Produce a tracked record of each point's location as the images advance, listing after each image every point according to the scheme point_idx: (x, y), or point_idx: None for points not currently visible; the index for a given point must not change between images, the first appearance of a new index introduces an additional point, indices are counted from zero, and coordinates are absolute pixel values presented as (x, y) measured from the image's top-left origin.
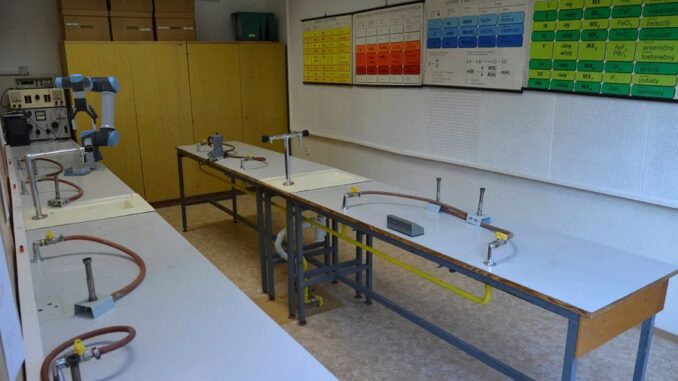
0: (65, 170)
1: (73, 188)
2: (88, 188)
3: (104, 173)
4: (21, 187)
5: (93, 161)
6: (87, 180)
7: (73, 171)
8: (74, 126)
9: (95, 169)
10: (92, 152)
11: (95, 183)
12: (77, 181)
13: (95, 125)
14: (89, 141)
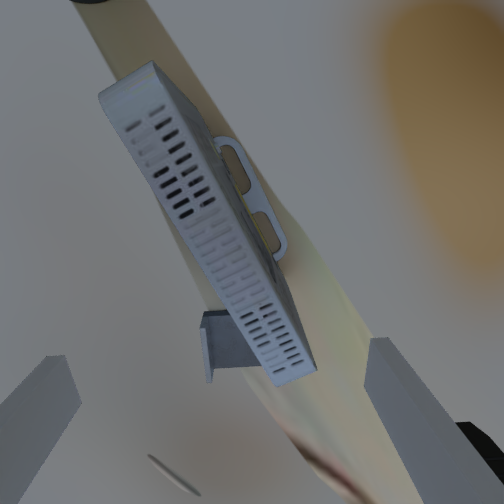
0: (211, 371)
1: (340, 491)
2: (381, 491)
3: (352, 327)
4: (178, 482)
5: (281, 276)
6: (336, 420)
7: (222, 331)
8: (49, 434)
9: (279, 258)
10: (265, 252)
11: (379, 450)
12: (309, 430)
13: (417, 377)
14: (297, 352)
